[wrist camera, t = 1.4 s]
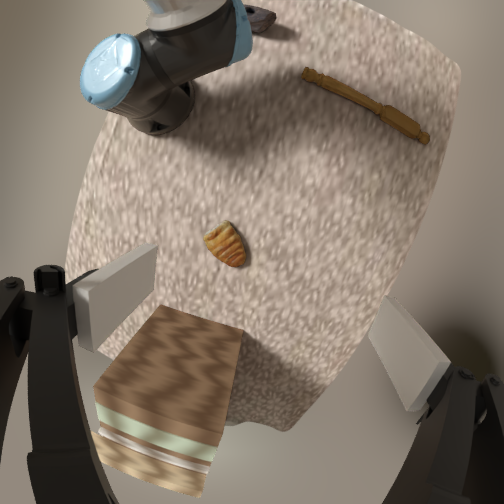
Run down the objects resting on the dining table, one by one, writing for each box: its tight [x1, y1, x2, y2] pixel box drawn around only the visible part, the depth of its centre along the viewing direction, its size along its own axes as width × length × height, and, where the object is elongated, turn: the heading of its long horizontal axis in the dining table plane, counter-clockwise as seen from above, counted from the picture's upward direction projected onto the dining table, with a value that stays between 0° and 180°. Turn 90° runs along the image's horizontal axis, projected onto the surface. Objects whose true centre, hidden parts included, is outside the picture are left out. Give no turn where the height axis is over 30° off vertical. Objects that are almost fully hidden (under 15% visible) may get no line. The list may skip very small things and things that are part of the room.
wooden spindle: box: [301, 67, 430, 144], centre depth 45 cm, size 3×3×30 cm
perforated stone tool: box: [244, 5, 276, 32], centre depth 40 cm, size 15×5×7 cm, turn 67°
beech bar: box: [91, 431, 206, 498], centre depth 34 cm, size 32×4×4 cm, turn 75°
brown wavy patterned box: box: [93, 305, 243, 475], centre depth 48 cm, size 20×24×31 cm
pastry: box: [203, 220, 246, 267], centre depth 54 cm, size 9×7×4 cm
